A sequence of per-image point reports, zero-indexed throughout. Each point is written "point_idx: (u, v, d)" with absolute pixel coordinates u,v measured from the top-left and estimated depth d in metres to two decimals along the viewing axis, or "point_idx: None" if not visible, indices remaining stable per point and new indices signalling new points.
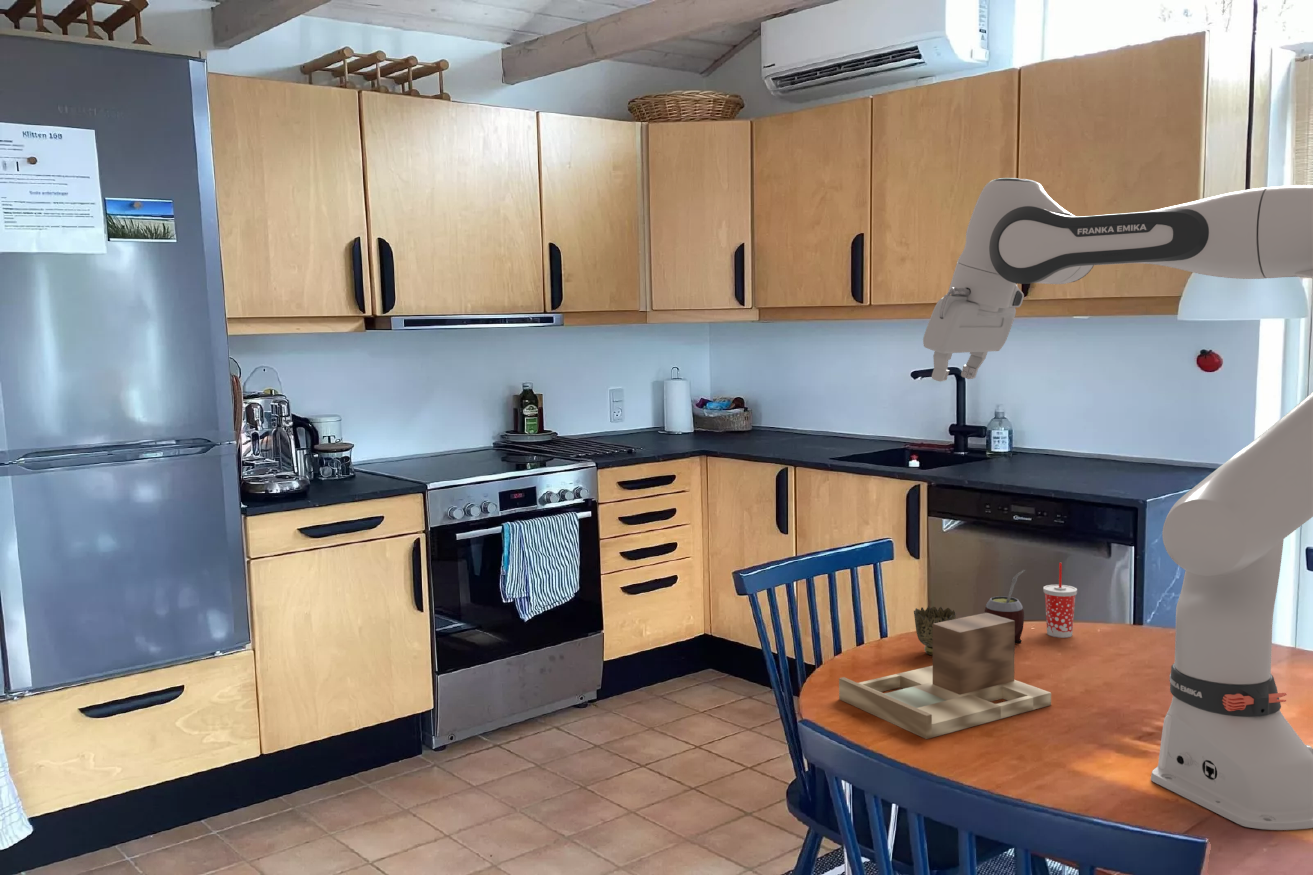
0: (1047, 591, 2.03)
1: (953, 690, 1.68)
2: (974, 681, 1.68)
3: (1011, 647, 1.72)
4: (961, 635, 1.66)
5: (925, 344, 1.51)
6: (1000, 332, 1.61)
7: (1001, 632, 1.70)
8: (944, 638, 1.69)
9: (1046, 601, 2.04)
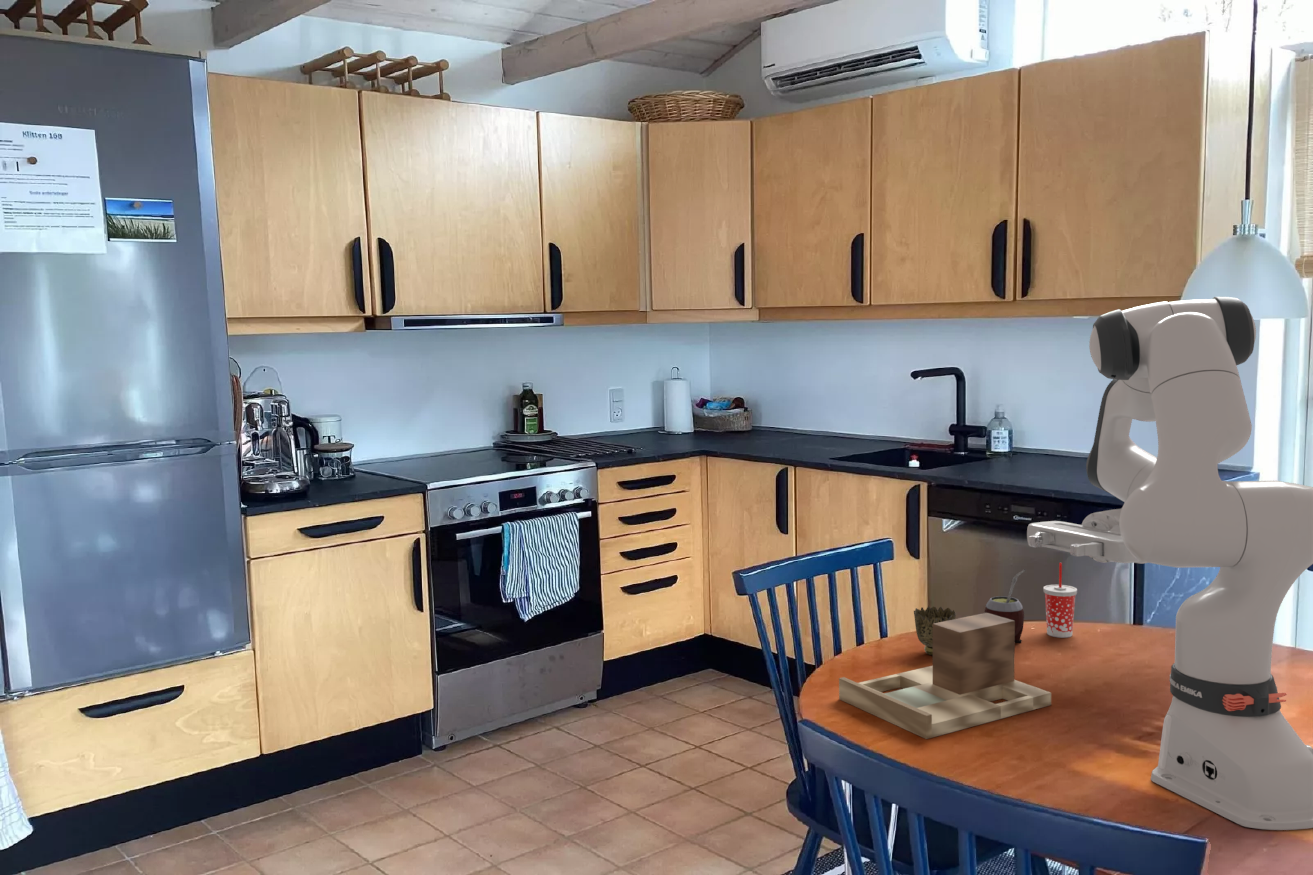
0: (1047, 591, 2.03)
1: (953, 690, 1.68)
2: (974, 681, 1.68)
3: (1011, 647, 1.72)
4: (961, 635, 1.66)
5: (1027, 539, 1.90)
6: (1118, 537, 1.76)
7: (1001, 632, 1.70)
8: (944, 638, 1.69)
9: (1046, 601, 2.04)
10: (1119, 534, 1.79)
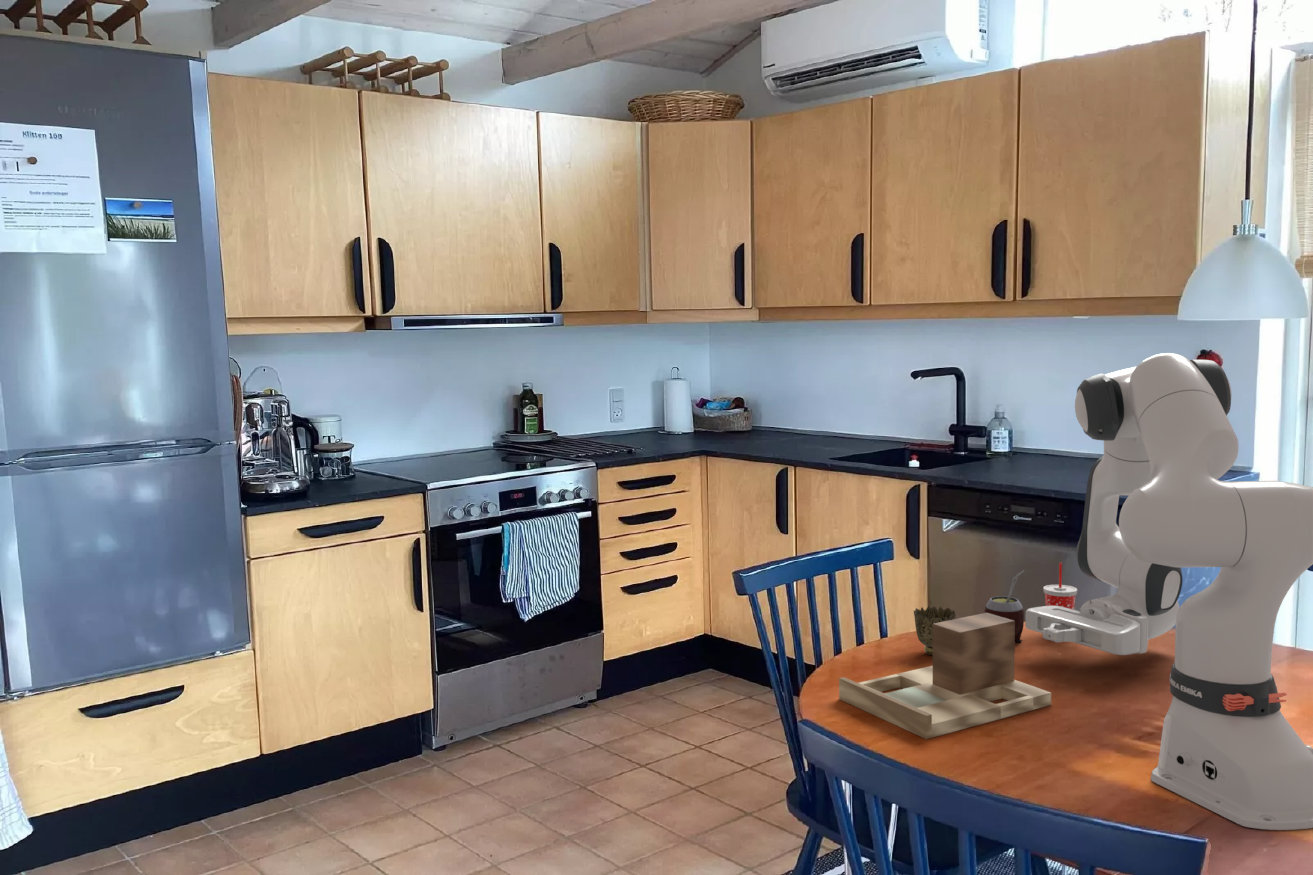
0: (1047, 591, 2.03)
1: (953, 690, 1.68)
2: (974, 681, 1.68)
3: (1011, 647, 1.72)
4: (961, 635, 1.66)
5: None
6: (1115, 628, 1.77)
7: (1001, 632, 1.70)
8: (944, 638, 1.69)
9: (1046, 601, 2.04)
10: (1116, 624, 1.80)
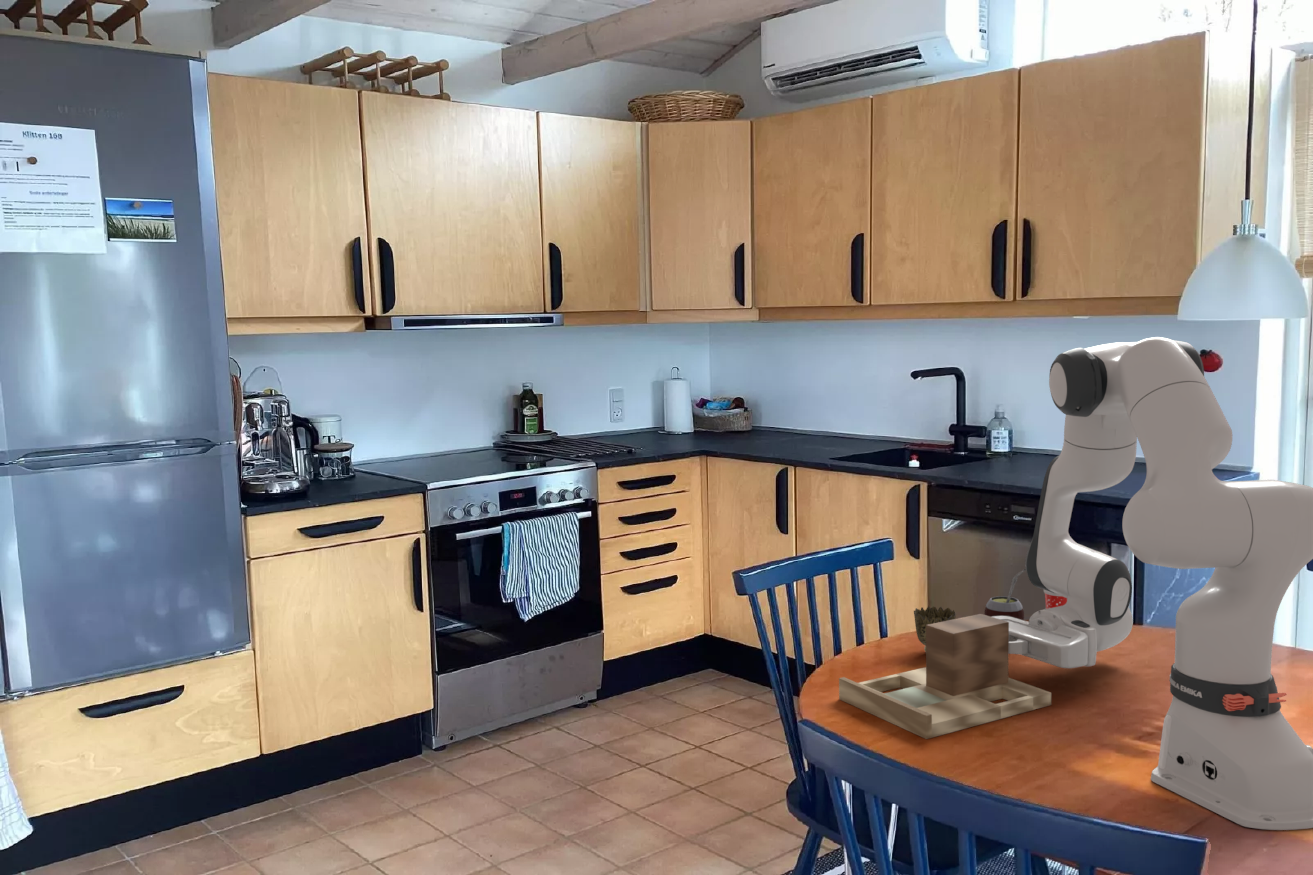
0: (1047, 591, 2.03)
1: (947, 691, 1.67)
2: (968, 683, 1.68)
3: (1005, 648, 1.71)
4: (955, 636, 1.65)
5: None
6: (1062, 639, 1.71)
7: (995, 633, 1.70)
8: (938, 639, 1.68)
9: (1046, 601, 2.04)
10: (1064, 635, 1.74)
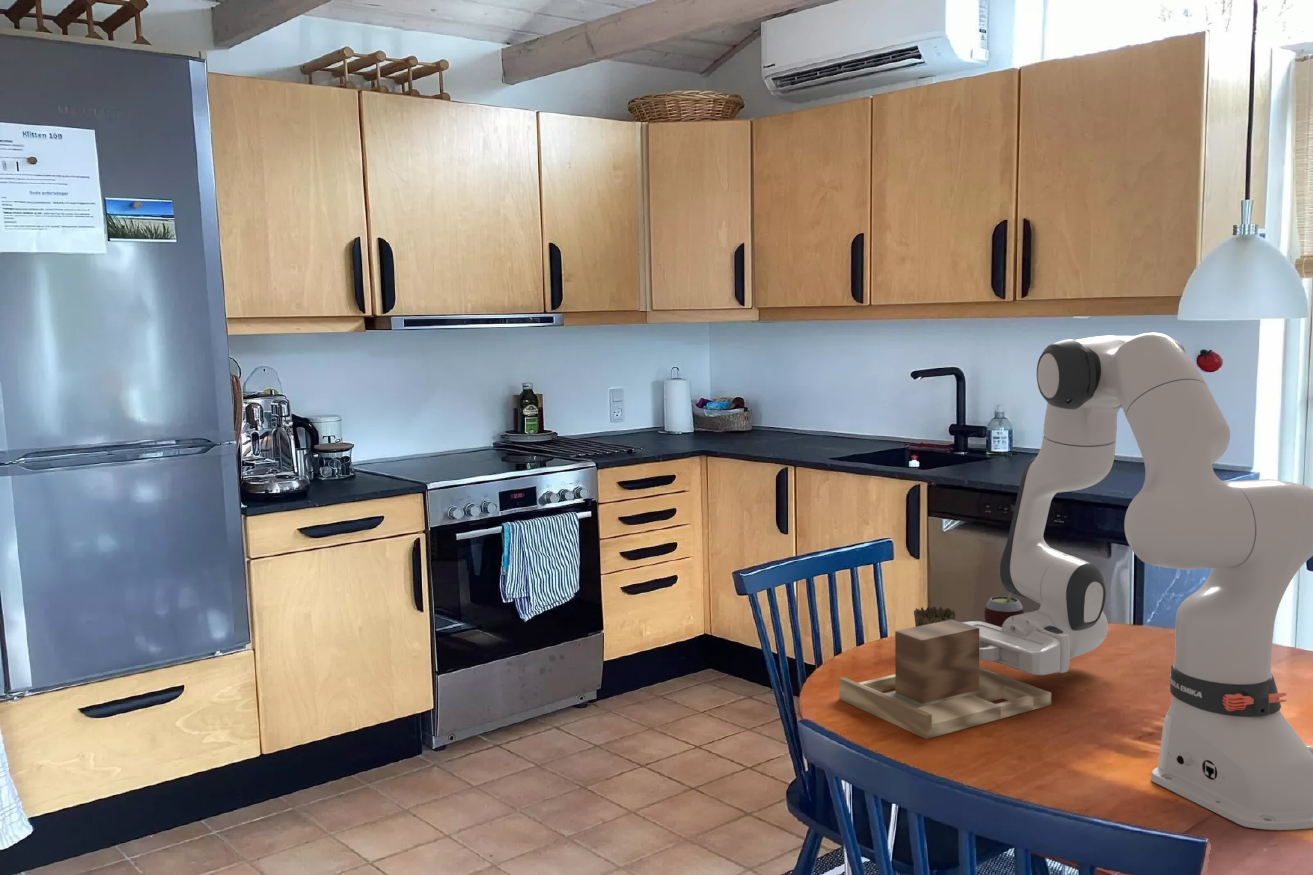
0: None
1: (916, 699, 1.64)
2: (937, 690, 1.65)
3: (976, 655, 1.68)
4: (923, 643, 1.62)
5: None
6: (1034, 646, 1.68)
7: (965, 639, 1.67)
8: (907, 646, 1.65)
9: None
10: (1036, 642, 1.71)
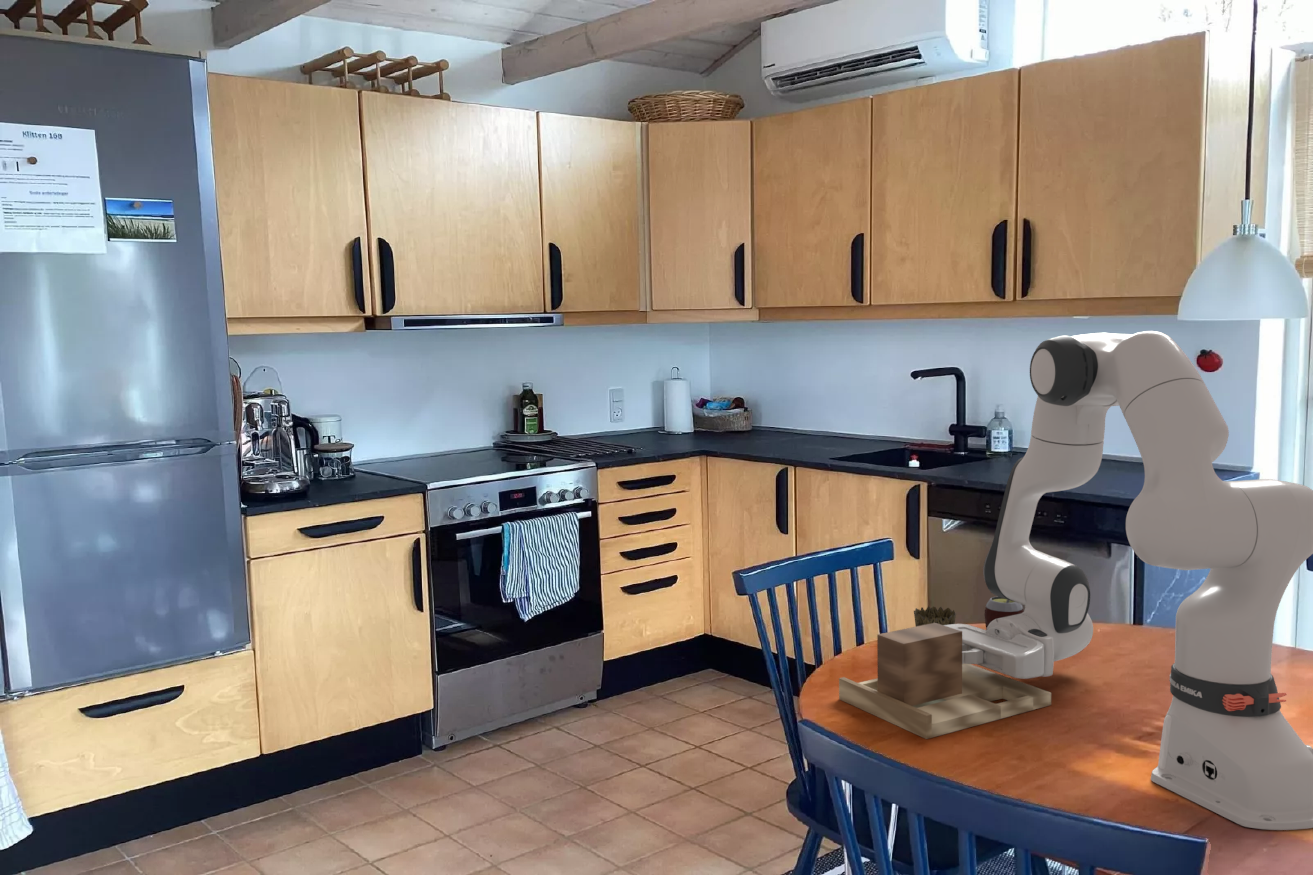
0: None
1: None
2: (920, 694, 1.63)
3: (958, 658, 1.66)
4: (905, 646, 1.61)
5: None
6: (1018, 649, 1.67)
7: (948, 643, 1.65)
8: (889, 649, 1.64)
9: None
10: (1021, 645, 1.69)
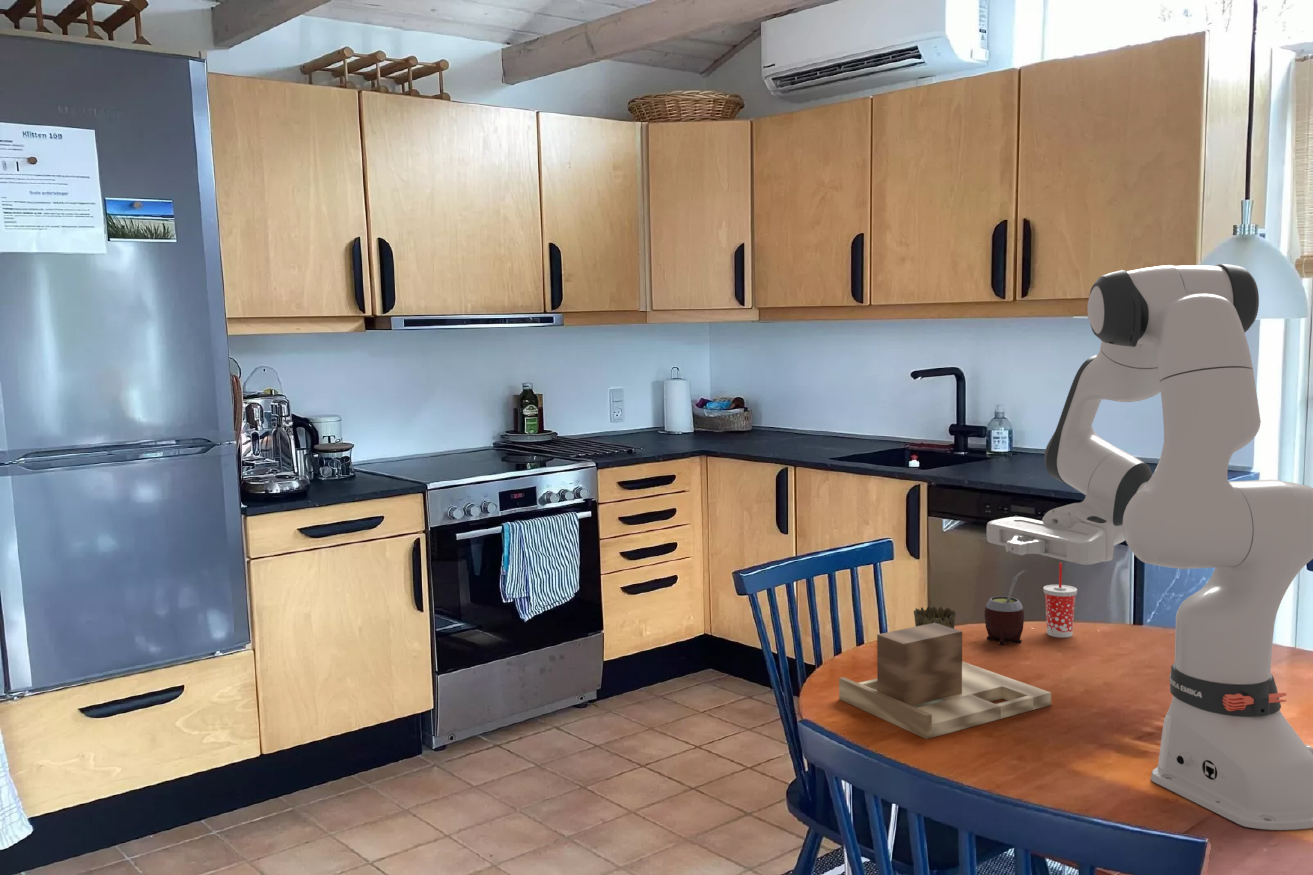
0: (1047, 591, 2.03)
1: None
2: (919, 694, 1.63)
3: (958, 659, 1.66)
4: (905, 646, 1.61)
5: (987, 538, 1.83)
6: (1080, 536, 1.70)
7: (947, 643, 1.65)
8: (889, 649, 1.64)
9: (1046, 601, 2.04)
10: (1081, 532, 1.72)
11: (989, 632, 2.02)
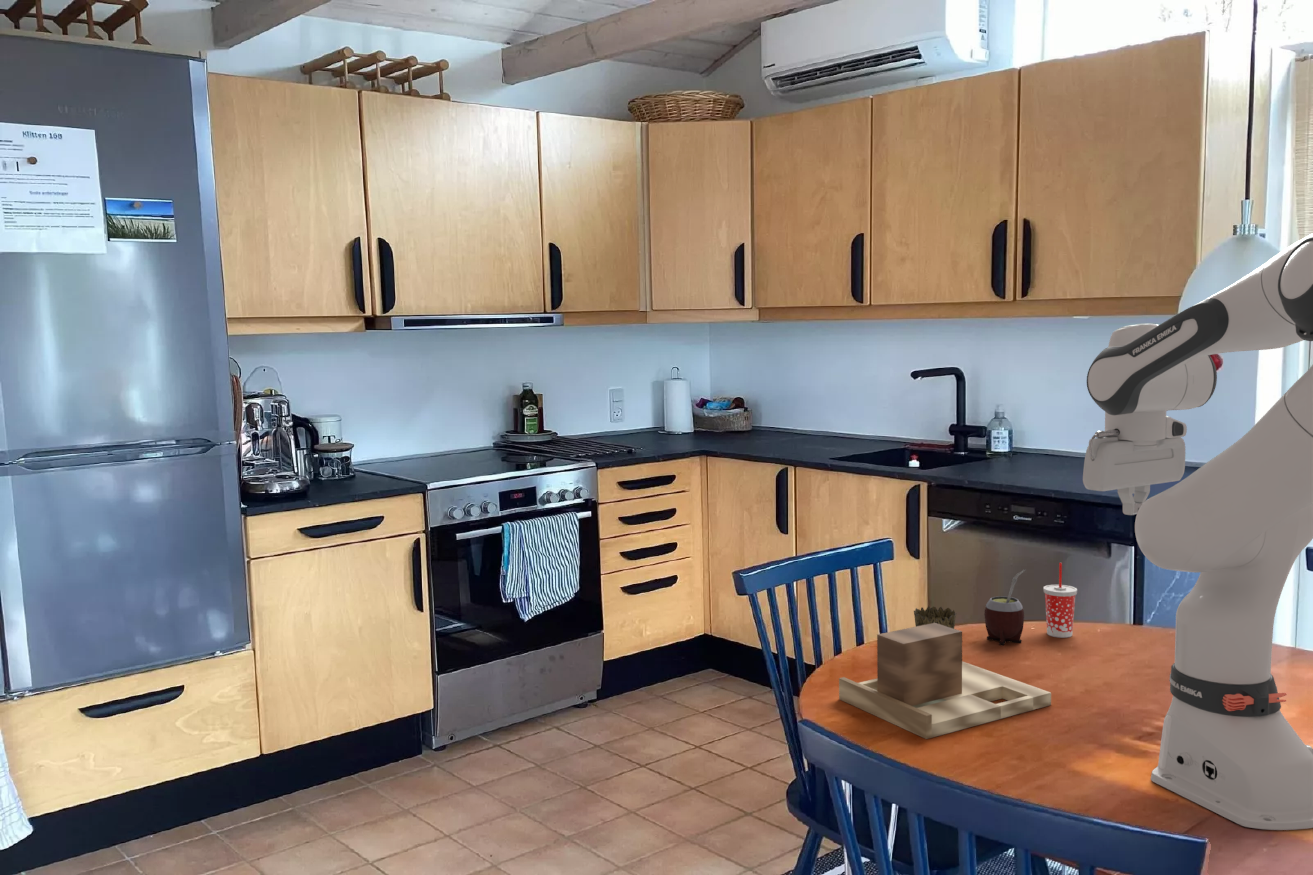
0: (1047, 591, 2.03)
1: None
2: (919, 694, 1.63)
3: (958, 659, 1.66)
4: (905, 646, 1.61)
5: (1086, 486, 1.65)
6: (1172, 463, 1.70)
7: (947, 643, 1.65)
8: (889, 649, 1.64)
9: (1046, 601, 2.04)
10: (1166, 449, 1.69)
11: (989, 632, 2.02)
